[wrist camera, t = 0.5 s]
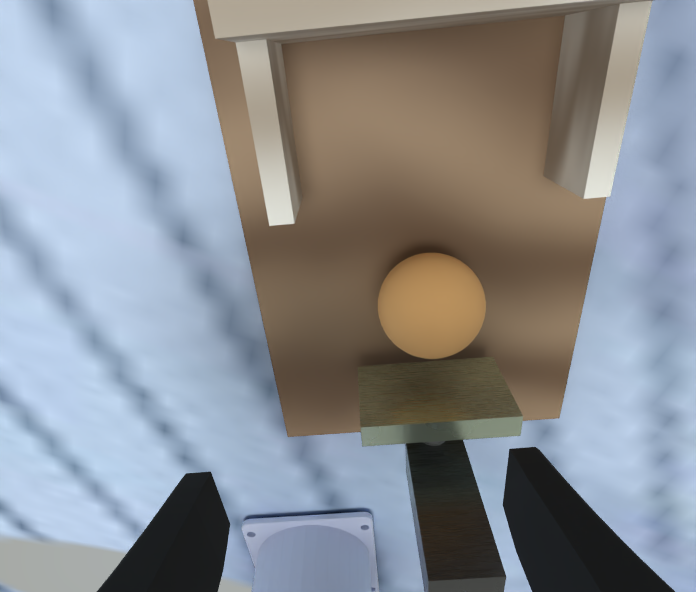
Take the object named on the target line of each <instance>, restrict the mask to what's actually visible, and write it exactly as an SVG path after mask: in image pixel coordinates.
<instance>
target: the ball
mask: <svg viewBox="0 0 696 592" xmlns="http://www.w3.org/2000/svg"><path fill="white" fill-rule="evenodd" d="M485 313H486V300H485V294H484V290H483V287H482V285H481V283H480V281H479V279H478V277H477V276H476V275H475V273H474V272H473V271H472V270H471V269H470V268H469V267H468V266H467V265H466V264H464V263H463V262H462V261H460V260H458V259H456V258H455V257H452V256H449V255H446V254H441V253H422V254H417V255H414V256H411V257H409V258H407V259H405V260H403V261H402V262H400V263H399V264H397V265H396V266H395V267H394V268H393V269H392V270H391V271H390V272H389V274H388V275H387V277H386V278H385V280H384V281H383V284H382V286H381V289H380V292H379V296H378V315H379V319H380V322H381V325H382V327H383V330H384V331H385V333H386V335H387V336H388V338H389V339H390V340H391V341H392V342H393V343H394V344H395V345H396V346H397V347H398V348H400V349H401V350H403V351H405V352H406V353H408V354H410V355H413V356H416V357H420V358H425V359H439V358H444V357H448V356H451V355H454V354H456V353H458V352H460V351H461V350H463V349H464V348H466V347H467V346H468V345H469V344H470V343H471V342H472V341H473V340H474V338H475V337H476V336H477V334H478V333H479V331H480V329H481V327H482V325H483V322H484V318H485Z"/></svg>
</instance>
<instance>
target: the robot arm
mask: <svg viewBox="0 0 696 592" xmlns="http://www.w3.org/2000/svg"><path fill="white" fill-rule="evenodd" d="M503 507H504V510H505V514H506V518H507V521H508V525H509V528H510V532H511V535H512V539H513V542H514V545H515V549H516V552H517V554H518V557H519V559H520V562H521V564H522V567H523V570H524V572H525V575H526V577H527V580H528V582H529V585H530V587H531V590H532V592H675V591H674V590H673V589H672V588H671V587H670V586H669V585H667V584H666V583H665V582H664V581H663V580H662V579H661V578H660V577H659V576H658V575H657V574H656V573H655V572H654V571H653V570H652V569H651V568H650V567H649V566H648V565H647V564H646V563H644V562H643V561H642V560H641V559H640V558H639V557H638V556H637V555H636V554H635V553H634V552H633V551H632V550H631V549H630V548H629V547H628V546H627V545H626V544H625V543H624V542H623V541H622V540H621V539H620V538H619V537H618V536H617V535H616V534H615V532H614V531H613V530H612V529H611V528H610V527H609V526H608V525H607V524H606V523H605V522H604V521H603V520H602V519H601V518H600V517H599V516H598V515H597V514H596V513H595V512H594V511H593V510H592V508H591V507H590V506H589V505H588V504H587V503H586V502H585V501H584V500H583V499H582V498H581V497H580V495H579V494H578V493H577V492H576V491H575V490H574V489H573V488H572V487H571V486H570V484H569V483H568V482H567V481H566V480H565V479H564V478H563V477H562V475H561V474H560V473H559V472H558V471H557V470H556V469H555V467H554V466H553V465H552V464H551V463H550V462H549V461H548V459H547V458H546V457H545V456H544V455H543V454H542V452H541V451H540V450H539V449H537V448H536V447H529V448H516V449H510V450H509V458H508V466H507V474H506V483H505V491H504V499H503ZM229 528H230V522H229V520H228V517H227V514H226V512H225V509H224V506H223V503H222V501H221V498H220V495H219V493H218V490H217V487H216V485H215V482H214V479H213V476H212V474H211V472H201V473H187V474H185V476H184V477H183V478H182V479H181V481H180V482H179V483H178V485H177V486H176V488H175V489H174V490H173V492H172V493H171V495H170V496H169V497H168V499H167V500H166V501H165V503H164V504H163V506H162V507H161V508H160V510H159V511H158V513H157V514H156V515H155V517H154V518H153V519H152V521H151V522H150V524H149V525H148V526H147V528H146V529H145V530H144V532H143V533H142V534H141V536H140V537H139V538H138V540H137V541H136V542H135V544H134V545H133V546H132V548H131V549H130V550H129V552H128V553H127V554H126V555H125V557H124V558H123V559H122V561H121V562H120V564H119V565H118V566H117V567H116V569H115V570H114V571H113V573H112V574H111V575H110V576H109V577H108V579H107V580H106V581H105V582H104V584H103V585H102V586H101V587H100V588H99V590H98V591H97V592H218V588H219V584H220V580H221V576H222V572H223V567H224V561H225V555H226V549H227V542H228V535H229ZM242 532H243V535H244V538H245V541H246V544H247V546H248V549H249V552H250V555H251V558H252V561H253V564H254V567H255V575H254V580H253V586H252V592H379V584H378V573H377V562H376V552H375V541H374V530H373V519H372V515H371V514H370V513H368V512H352V513H336V514H320V515H304V516H288V517H272V518H257V519H247V520H245V521H244V522H243V524H242Z"/></svg>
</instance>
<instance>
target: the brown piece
mask: <svg viewBox="0 0 696 592" xmlns="http://www.w3.org/2000/svg"><path fill="white" fill-rule="evenodd" d="M193 1H194V6H195V11H196V15H197V20H198V24H199V29H200V34H201V38H202V43H203V47H204V52H205V57H206V61H207V66H208V71H209V75H210V80H211V84H212V89H213V94H214V98H215V103H216V107H217V112H218V117H219V121H220V126H221V131H222V135H223V140H224V144H225V149H226V154H227V158H228V163H229V168H230V172H231V177H232V181H233V186H234V191H235V195H236V200H237V204H238V209H239V214H240V218H241V223H242V228H243V232H244V237H245V241H246V246H247V251H248V255H249V260H250V264H251V269H252V274H253V278H254V283H255V288H256V292H257V297H258V301H259V306H260V311H261V315H262V320H263V324H264V329H265V334H266V338H267V343H268V348H269V352H270V357H271V361H272V366H273V371H274V375H275V380H276V385H277V389H278V394H279V398H280V403H281V408H282V412H283V417H284V421H285V426H286V431H287V435H288V437H294V436H308V435H323V434H337V433H352V432H361V427H360V406H359V385H358V367H360V366H374V365H387V364H401V363H414V362H428V361H441V360H455V359H468V358H482V357H493V358H494V360H495V362H496V364H497V366H498V368H499V370H500V372H501V374H502V376H503V378H504V379H505V381H506V383H507V385H508V387H509V389H510V391H511V393H512V395H513V397H514V399H515V401H516V403H517V405H518V407H519V409H520V411H521V413H522V415H523V421H526V420H540V419H555V418H559V417H560V412H561V407H562V403H563V398H564V393H565V388H566V384H567V379H568V374H569V370H570V365H571V360H572V355H573V351H574V346H575V341H576V337H577V332H578V327H579V322H580V318H581V313H582V308H583V304H584V299H585V294H586V290H587V285H588V280H589V275H590V271H591V266H592V261H593V257H594V252H595V247H596V242H597V238H598V233H599V228H600V224H601V219H602V214H603V209H604V205H605V200H606V197H610V194H611V189H612V185H613V180H614V175H615V171H616V166H617V162H618V157H619V152H620V148H621V143H622V139H623V134H624V129H625V125H626V120H627V115H628V111H629V106H630V102H631V97H632V92H633V88H634V83H635V79H636V74H637V69H638V65H639V60H640V55H641V51H642V46H643V42H644V37H645V32H646V28H647V23H648V19H649V14H650V9H651V5H652V1H653V0H193ZM422 253H441V254H446V255H449V256H452V257H455V258H456V259H458V260H460V261H462V262H463V263H464V264H466V265H467V266H468V267H469V268H470V269H471V270H472V271H473V272H474V273H475V275H476V276H477V277H478V279H479V281H480V283H481V285H482V287H483V290H484V294H485V300H486V313H485V318H484V322H483V325H482V327H481V329H480V331H479V333H478V334H477V336H476V337H475V338H474V340H473V341H472V342H471V343H470V344H469V345H468V346H467V347H466V348H464V349H463V350H461V351H460V352H458V353H456V354H454V355H451V356H448V357H444V358H439V359H425V358H420V357H416V356H413V355H410V354H408V353H406V352H405V351H403V350H401V349H400V348H398V347H397V346H396V345H395V344H394V343H393V342H392V341H391V340H390V339H389V338H388V336H387V335H386V333H385V331H384V330H383V327H382V325H381V322H380V319H379V315H378V296H379V292H380V289H381V286H382V284H383V281H384V280H385V278H386V277H387V275H388V274H389V272H390V271H391V270H392V269H393V268H394V267H395V266H396V265H397V264H399V263H400V262H402V261H403V260H405V259H407V258H409V257H411V256H414V255H417V254H422Z"/></svg>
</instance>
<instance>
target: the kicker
mask: <svg viewBox="0 0 696 592" xmlns="http://www.w3.org/2000/svg"><path fill="white" fill-rule="evenodd" d="M358 385H359V406H360V427H361V438H362V446H375V445H390V444H405V446H406V474H407V480H408V487H409V493H410V500H411V506H412V513H413V519H414V526H415V532H416V539H417V545H418V552H419V558H420V565H421V571H422V578H423V584H424V591H425V592H504V586H505V580H506V575H505V571H504V568H503V565H502V562H501V559H500V556H499V553H498V549H497V546H496V543H495V540H494V537H493V534H492V530H491V527H490V524H489V521H488V518H487V515H486V511H485V508H484V505H483V502H482V499H481V496H480V493H479V489H478V486H477V483H476V480H475V477H474V474H473V470H472V467H471V464H470V461H469V458H468V455H467V451H466V448H465V445H464V442H463V440H464V439H479V438H493V437H508V436H520V434H521V427H522V421H523V415H522V413H521V411H520V409H519V407H518V405H517V403H516V401H515V399H514V397H513V395H512V393H511V391H510V389H509V387H508V385H507V383H506V381H505V379H504V378H503V376H502V374H501V372H500V370H499V368H498V366H497V364H496V362H495V360H494V358H493V357H482V358H468V359H455V360H441V361H428V362H414V363H401V364H387V365H374V366H360V367H358Z"/></svg>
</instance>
